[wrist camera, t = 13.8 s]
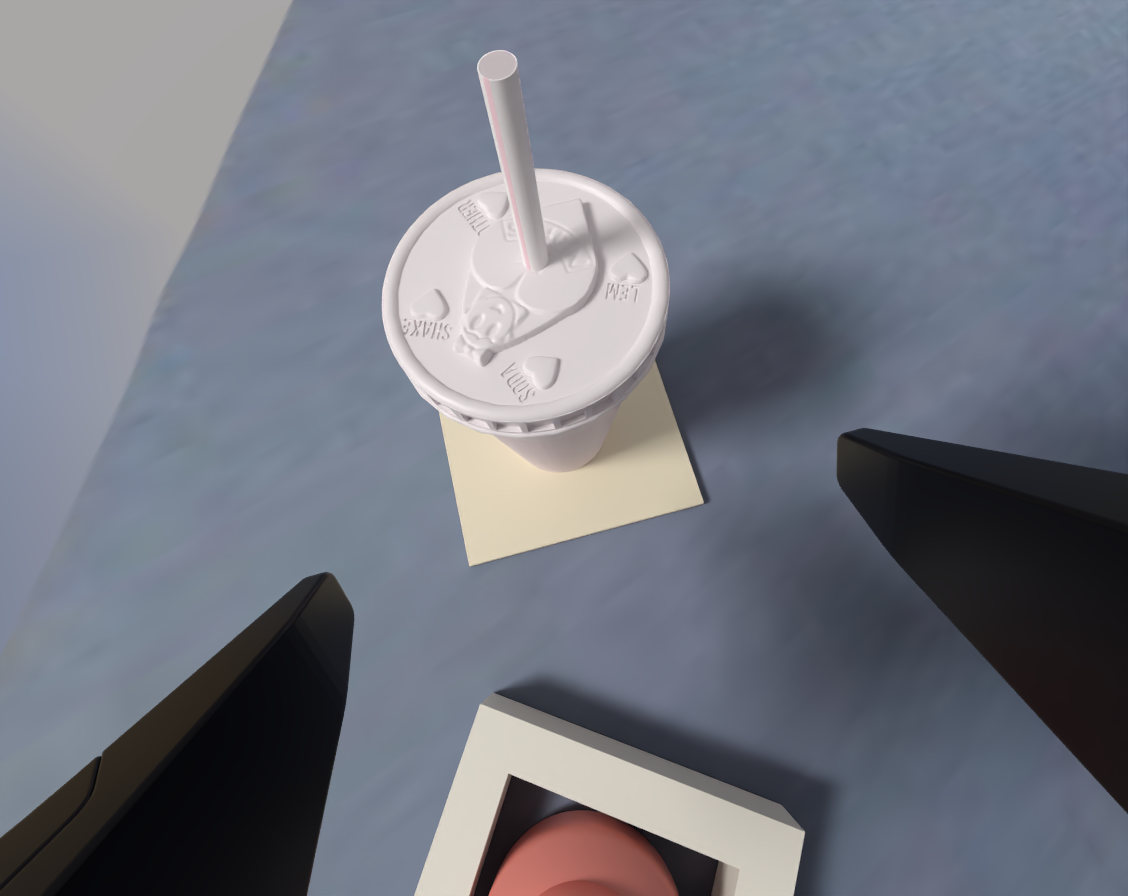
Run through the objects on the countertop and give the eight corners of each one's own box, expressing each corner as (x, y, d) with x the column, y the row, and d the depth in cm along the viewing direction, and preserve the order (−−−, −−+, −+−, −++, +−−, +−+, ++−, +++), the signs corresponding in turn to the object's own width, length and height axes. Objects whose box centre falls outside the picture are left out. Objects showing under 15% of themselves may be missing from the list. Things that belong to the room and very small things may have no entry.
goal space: (702, 504, 19) (704, 503, 19) (471, 566, 19) (469, 566, 19) (633, 302, 22) (634, 299, 22) (429, 357, 22) (427, 354, 22)
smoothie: (671, 401, 20) (804, 14, 7) (584, 540, 19) (539, 399, 6) (537, 328, 22) (427, -116, 8) (447, 453, 20) (146, 170, 7)
